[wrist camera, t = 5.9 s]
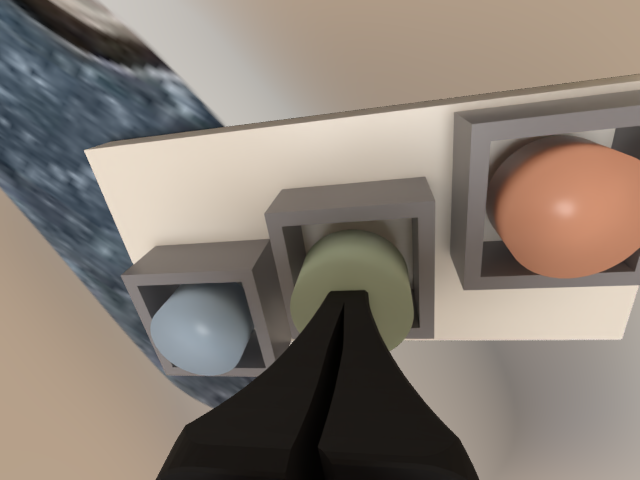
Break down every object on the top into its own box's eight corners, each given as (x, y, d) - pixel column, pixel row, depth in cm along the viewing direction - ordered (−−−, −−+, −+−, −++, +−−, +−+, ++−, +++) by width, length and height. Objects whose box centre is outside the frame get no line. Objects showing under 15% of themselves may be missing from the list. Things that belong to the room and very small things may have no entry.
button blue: (265, 340, 19) (251, 376, 17) (190, 341, 20) (168, 375, 18) (246, 271, 17) (228, 301, 15) (164, 274, 18) (136, 304, 16)
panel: (599, 313, 19) (664, 388, 15) (182, 320, 24) (138, 378, 19) (663, 70, 14) (795, 75, 9) (111, 141, 18) (31, 166, 14)
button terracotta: (601, 242, 14) (641, 275, 12) (481, 248, 15) (499, 280, 13) (628, 128, 12) (683, 143, 10) (489, 142, 13) (512, 159, 11)
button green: (409, 317, 15) (415, 359, 13) (310, 319, 16) (300, 359, 14) (406, 225, 13) (412, 257, 11) (294, 232, 14) (279, 263, 12)
